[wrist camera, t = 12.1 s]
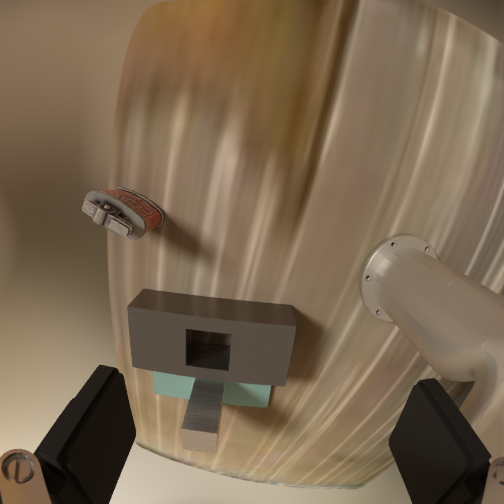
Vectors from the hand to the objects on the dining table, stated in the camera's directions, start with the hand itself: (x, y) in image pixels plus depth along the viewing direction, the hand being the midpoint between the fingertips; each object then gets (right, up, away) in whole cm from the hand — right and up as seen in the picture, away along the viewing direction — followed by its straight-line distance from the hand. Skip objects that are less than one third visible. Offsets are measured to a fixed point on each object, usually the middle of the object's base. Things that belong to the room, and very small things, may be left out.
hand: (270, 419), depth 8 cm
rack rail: (-6, -5, +32) cm, 33 cm away
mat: (-7, -14, +35) cm, 38 cm away
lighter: (-15, +11, +29) cm, 34 cm away
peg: (-7, -15, +34) cm, 38 cm away
